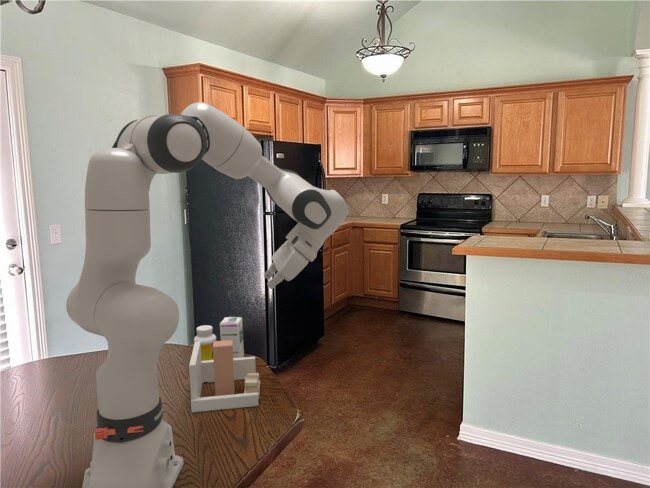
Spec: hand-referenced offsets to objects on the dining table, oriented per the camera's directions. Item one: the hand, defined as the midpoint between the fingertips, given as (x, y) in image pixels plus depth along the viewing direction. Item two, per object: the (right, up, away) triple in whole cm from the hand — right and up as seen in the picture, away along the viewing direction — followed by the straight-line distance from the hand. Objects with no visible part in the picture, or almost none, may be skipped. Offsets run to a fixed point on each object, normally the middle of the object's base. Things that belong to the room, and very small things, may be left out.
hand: (267, 282), depth 124 cm
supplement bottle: (-21, -28, +18) cm, 39 cm away
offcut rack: (-12, -30, +2) cm, 32 cm away
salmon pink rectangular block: (-12, -30, +2) cm, 32 cm away
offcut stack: (-4, -30, +2) cm, 31 cm away
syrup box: (-13, -27, +20) cm, 36 cm away
